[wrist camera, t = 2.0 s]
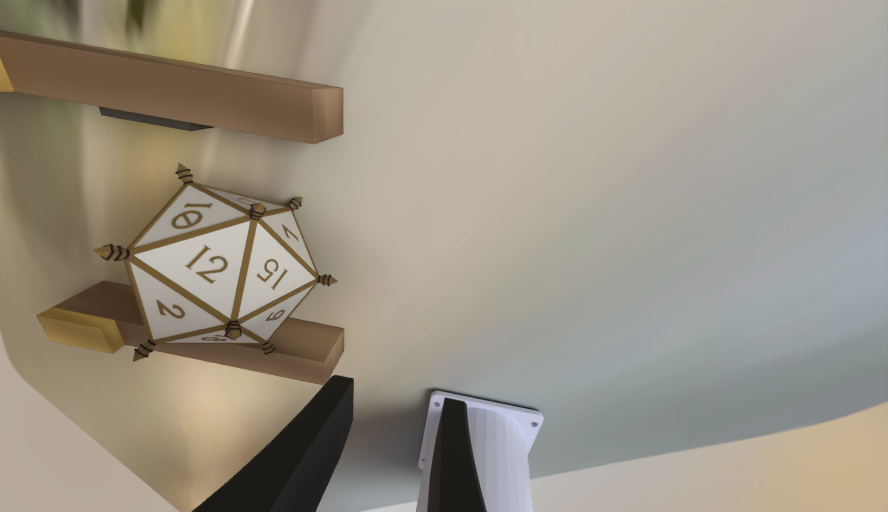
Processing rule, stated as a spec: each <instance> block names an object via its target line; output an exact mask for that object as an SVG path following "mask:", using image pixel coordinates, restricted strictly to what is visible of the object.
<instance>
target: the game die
mask: <svg viewBox="0 0 888 512" xmlns="http://www.w3.org/2000/svg"><path fill="white" fill-rule="evenodd" d="M190 171H191V170H190V169H187V168H186V167H185V166H183V165H182V164H180V163H179V165H178V169H177V172H175V173H176V174H178V176H179V178H178V179H181V180H182V181H183V182H184V185H183V186H182V187H181V189H180V190H179V191H178V192H177V193H176V194H175V195H174V196H173V197H172V199H171V200H170V201H169V202H168V203H167V204H166V205H165V206H164V207H163V209H162V210H161V211H160V212H159V213H158V214H157V215H156V216H155V217H154V219H153V220H152V221H151V222H150V223H149V224H148V225H147V226H146V227H145V229H144V230H143V231H142V232H141V233H140V234H139V235H138V236H137V237H136V239H135V240H134V241H133V242H132V243H131V244H130V245H129V246H128V247H127V249H124V248H121V246H113V244H109V245H106V246H103V247H102V248H98V249H94V250H93V251H95V252H96V253H98V254H99V255H101V257H102V258H104V259H105V260H107V261H108V260H109V259H113V260H114V261H117V260H121V259H123V260H124V263H125V266H126V269H127V272H128V275H129V279H130V282H131V285H132V288H133V291H134V294H135V298H136V301H137V304H138V307H139V310H140V313H141V317H142V320H143V323H144V326H145V329H146V332H147V336H148V339H149V340H148V341H147V342H145V343H144V344H140V347H138V348H137V349H134V350H135V354H134V359H133V362H134V361H136V360H139V359H142V358H144V357H148V354H149V353H150V352H153V348H154V346H155V345H157V344H262V345H263V348H262V350H263V351H264V354H265V355H268V356H270V357H272V358H273V354H274V350H275V349H276V348H274V347H273V344H271V343H270V342H269V340H270V338H271V337H272V336H273V335H274V334H275V333H276V331H277V330H278V329H279V328H280V327H281V326H282V324H283V323H284V322H285V321H286V320H287V318H288V317H289V316H290V315H291V314H292V313H293V311H294V310H295V309H296V308H297V307H298V305H299V304H300V303H301V302H302V301H303V300H304V298H305V297H306V296H307V295H308V294H309V292H310V291H311V290H312V289H313V288H314V287H315V285H316V284H317V283H322V284H323V285H328V286H329V285H331V284H333V283H336V282H338V281H337V280H336V279H334V278H333V277H332V276H331V275H329V276H328V275H326V274H325V275H323V276H319V274H318V272H317V269H316V267H315V264H314V262H313V259H312V257H311V255H310V252H309V250H308V247H307V245H306V242H305V240H304V238H303V235H302V233H301V230H300V228H299V225H298V223H297V221H296V218H295V216H294V213H293V211H294V210H296V209H297V210H298V207H301V201H302V197H301V198H297V199H295V198H294V199H292V200H293V201H291V202H289V203H290V204H289V206H288V207H287V206H283V205H280V204H276V203H272V202H268V201H264V200H260V199H256V198H252V197H249V196H245V195H241V194H237V193H233V192H229V191H225V190H221V189H218V188H214V187H210V186H206V185H202V184H198V183H194V182H193V181H192V176H193V175H191V173H190Z"/></svg>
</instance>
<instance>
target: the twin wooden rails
mask: <svg viewBox="0 0 888 512" xmlns="http://www.w3.org/2000/svg"><path fill="white" fill-rule="evenodd" d="M0 92H20V93H26V94H32V95H37V96H43V97H49V98H54V99H60V100H66V101H71V102H77V103H83V104H88V105H94V106H99V109H100V112H101V115H103V116H109V117H114V118H120V119H126V120H131V121H137V122H143V123H148V124H154V125H160V126H165V127H171V128H177V129H182V130H188V131H194V130H200V129H207V128H213V127H219V128H225V129H230V130H236V131H242V132H247V133H253V134H259V135H264V136H270V137H276V138H282V139H287V140H293V141H299V142H304V143H310V144H316V143H319V142H322V141H325V140H328V139H331V138H333V137H336V136H339V135H342V134H343V88H339V87H333V86H327V85H321V84H315V83H309V82H304V81H298V80H292V79H286V78H280V77H274V76H268V75H262V74H256V73H250V72H244V71H238V70H232V69H226V68H221V67H215V66H209V65H203V64H197V63H191V62H185V61H179V60H173V59H167V58H161V57H155V56H149V55H143V54H138V53H132V52H126V51H120V50H114V49H108V48H102V47H96V46H90V45H84V44H78V43H72V42H66V41H60V40H54V39H49V38H43V37H37V36H31V35H25V34H19V33H13V32H7V31H1V30H0ZM36 316H37V318H38V320H39V322H40V323H41V325H42V327H43V329H44V330H45V332H46V334H47V335H48V337H49V339H50V341H53V342H58V343H62V344H67V345H72V346H77V347H82V348H87V349H91V350H96V351H101V352H106V353H111V354H113V353H114V352H116V351H117V350H118V349H120V348H121V347H122V346H124V345H130V346H134V347H140V344H144V343H145V342H147V341H148V340H149V339H148V336H147V332H146V329H145V326H144V323H143V320H142V317H141V313H140V310H139V307H138V304H137V301H136V298H135V294H134V291H133V288H132V287H131V286H126V285H121V284H116V283H111V282H105V281H102V282H100V283H99V284H97V285H95V286H93V287H91V288H89V289H87V290H85V291H83V292H81V293H79V294H77V295H75V296H73V297H71V298H69V299H67V300H65V301H64V302H62V303H60V304H58V305H56V306H54V307H52V308H50V309H48V310H46V311H44V312H42V313H40V314H38V315H36ZM269 342H270V343H271V344H273V347H274V348H276V349H275V350H274V354H273V358H272V357H270V356H268V355H265V354H264V351H263V350H262V348H263V345H262V344H157V345H155V346H154V348H153V350H154V351H159V352H164V353H169V354H173V355H178V356H183V357H188V358H193V359H198V360H203V361H207V362H212V363H217V364H222V365H227V366H232V367H237V368H242V369H246V370H251V371H256V372H261V373H266V374H271V375H276V376H280V377H285V378H290V379H295V380H300V381H305V382H310V383H315V384H319V385H325V384H326V383H327V381H328V379H329V377H330V376H331V374H332V372H333V370H334V368H335V366H336V365H337V363H338V361H339V359H340V357H341V355H342V353H343V352H344V329H343V328H338V327H333V326H328V325H323V324H318V323H313V322H308V321H302V320H297V319H292V318H287V320H286V321H285V322H284V323H283V324H282V326H281V327H280V328H279V329H278V330H277V331H276V333H275V334H274V335H273V336H272V337H271V338H270V340H269Z"/></svg>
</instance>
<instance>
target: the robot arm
mask: <svg viewBox="0 0 888 512" xmlns="http://www.w3.org/2000/svg"><path fill="white" fill-rule="evenodd" d="M353 391H354V379H353V378H348V377H343V376H338V375H334V376H332V377H331V378H330V379H329V380H328V381H327V383H326V384H325V385H324V386H323V387H322V388H321V389H320V391H319V392H318V393H317V394H316V395H315V396H314V397H313V399H312V400H311V401H310V402H309V403H308V404H307V405H306V406H305V407H304V408H303V409H302V410H301V412H300V413H299V414H298V415H297V416H296V417H295V418H294V419H293V420H292V421H291V422H290V423H289V424H288V425H287V426H286V427H285V428H284V429H283V430H282V431H281V432H280V433H279V434H278V435H277V436H276V437H275V438H274V439H273V440H272V441H271V442H270V443H269V444H268V445H267V446H266V447H265V448H264V449H263V450H261V451H260V452H259V453H258V454H257V455H256V456H255V457H254V458H253V459H252V460H251V461H250V462H249V463H248V464H247V465H245V466H244V467H243V468H242V469H241V470H240V471H239V472H238V473H237V474H235V475H234V476H233V477H232V478H231V479H230V480H229V481H228V482H226V483H225V484H224V485H223V486H222V487H221V488H219V489H218V490H217V491H216V492H215V493H213V494H212V495H211V496H210V497H209V498H207V499H206V500H205V501H204V502H203V503H202V504H200V505H199V506H198V507H197V508H195V509H194V510H193V511H192V512H316V509H317V507H318V505H319V503H320V500H321V498H322V496H323V494H324V492H325V489H326V487H327V485H328V483H329V481H330V478H331V476H332V474H333V472H334V470H335V467H336V465H337V463H338V461H339V458H340V456H341V454H342V451H343V448H344V445H345V442H346V439H347V436H348V433H349V430H350V427H351V424H352V422H353ZM542 422H543V415H542V413H541V412H539V411H535V410H530V409H525V408H520V407H516V406H511V405H506V404H501V403H496V402H491V401H486V400H481V399H476V398H471V397H466V396H461V395H456V394H452V393H447V392H442V391H434V392H432V394H431V398H430V403H429V409H428V414H427V419H426V425H425V430H424V435H423V441H422V446H421V451H420V457H419V462H418V467H419V469H421V470H423V473H422V479H421V485H420V491H419V497H418V503H417V509H416V512H533V505H532V496H531V487H530V476H529V466H528V456H527V455H528V453H529V451H530V449H531V446H532V444H533V442H534V440H535V438H536V436H537V433H538V431H539V429H540V427H541V425H542Z"/></svg>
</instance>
